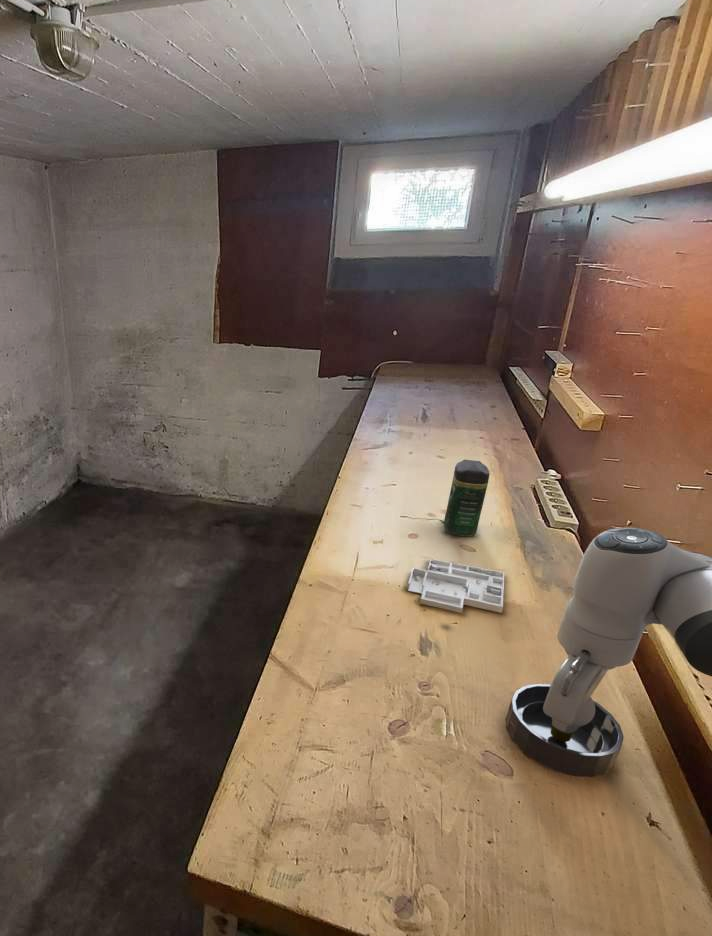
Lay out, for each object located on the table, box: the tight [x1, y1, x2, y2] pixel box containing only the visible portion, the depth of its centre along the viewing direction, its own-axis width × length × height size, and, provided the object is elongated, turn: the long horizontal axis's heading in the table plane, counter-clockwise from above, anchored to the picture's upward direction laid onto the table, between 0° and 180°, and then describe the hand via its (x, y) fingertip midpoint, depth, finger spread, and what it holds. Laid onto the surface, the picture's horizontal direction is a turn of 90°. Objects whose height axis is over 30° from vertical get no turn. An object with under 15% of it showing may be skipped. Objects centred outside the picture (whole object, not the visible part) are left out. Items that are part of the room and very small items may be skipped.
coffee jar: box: [443, 459, 491, 537], centre depth 145 cm, size 10×8×19 cm
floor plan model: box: [406, 558, 505, 614], centre depth 122 cm, size 19×25×2 cm
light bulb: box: [551, 697, 595, 742], centre depth 85 cm, size 6×6×10 cm
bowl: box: [504, 683, 625, 778], centre depth 86 cm, size 14×14×5 cm
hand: (571, 709), depth 84 cm, fingers open, 8 cm apart
